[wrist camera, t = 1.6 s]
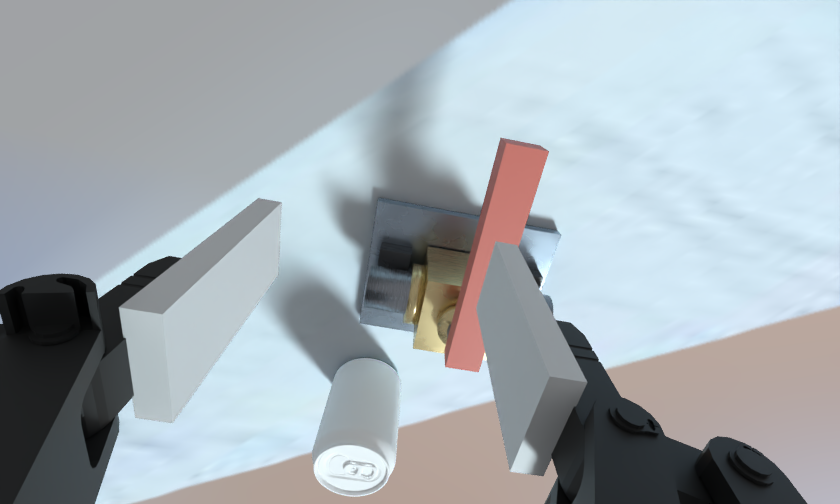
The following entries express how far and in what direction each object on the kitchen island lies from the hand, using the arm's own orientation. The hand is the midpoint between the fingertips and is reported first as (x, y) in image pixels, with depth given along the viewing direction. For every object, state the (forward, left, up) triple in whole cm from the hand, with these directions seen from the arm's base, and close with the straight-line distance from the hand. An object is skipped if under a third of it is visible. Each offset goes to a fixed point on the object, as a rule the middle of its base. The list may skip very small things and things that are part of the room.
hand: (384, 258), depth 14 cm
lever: (+7, -6, -15) cm, 18 cm away
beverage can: (0, -29, -25) cm, 38 cm away
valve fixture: (+7, -13, -25) cm, 29 cm away
